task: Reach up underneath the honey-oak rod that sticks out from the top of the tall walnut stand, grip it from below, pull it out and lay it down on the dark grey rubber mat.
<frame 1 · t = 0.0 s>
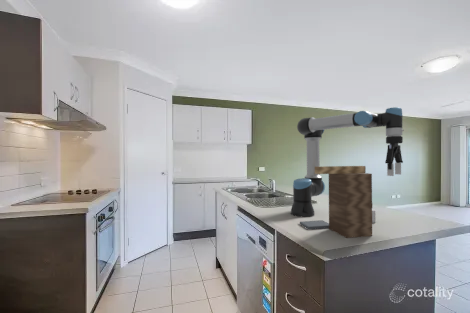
hand: (394, 175, 128), 28 cm above the table, tool pointing down, fingers open, 13 cm apart
mat: (315, 226, 129), on the table
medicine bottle: (366, 221, 138), on the table
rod: (340, 173, 117), point 30 cm above the table, touching stand
stand: (349, 232, 118), on the table
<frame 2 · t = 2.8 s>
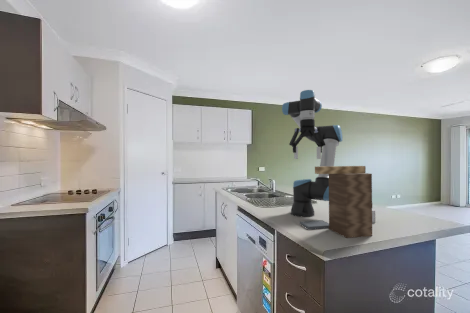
hand: (307, 158, 126), 37 cm above the table, tool pointing down, fingers open, 13 cm apart
nothing on the table moved.
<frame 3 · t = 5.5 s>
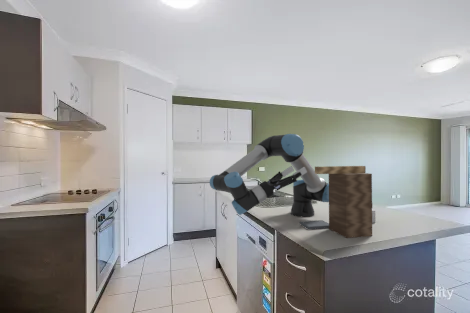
hand: (298, 168, 114), 33 cm above the table, tool pointing upward, fingers open, 13 cm apart
nothing on the table moved.
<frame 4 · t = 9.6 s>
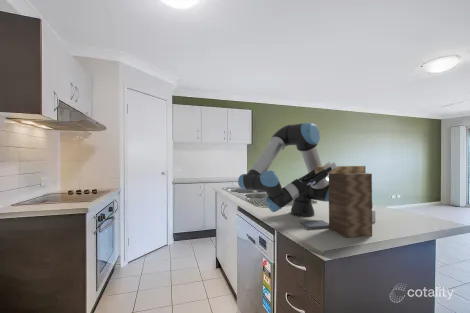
hand: (332, 164, 116), 34 cm above the table, tool pointing upward, fingers closed on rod, 3 cm apart
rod: (340, 173, 117), point 30 cm above the table, touching gripper, stand
everything else where it was.
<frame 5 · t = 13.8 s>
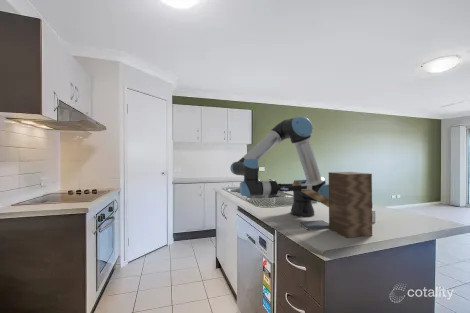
hand: (309, 186, 128), 22 cm above the table, tool horizontal, fingers closed on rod, 3 cm apart
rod: (312, 197, 129), point 16 cm above the table, tilted 30°, touching gripper
everything else where it was.
when the fingers open (8 cm above the table, at t = 16.8 s): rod drops 2 cm, resting on mat.
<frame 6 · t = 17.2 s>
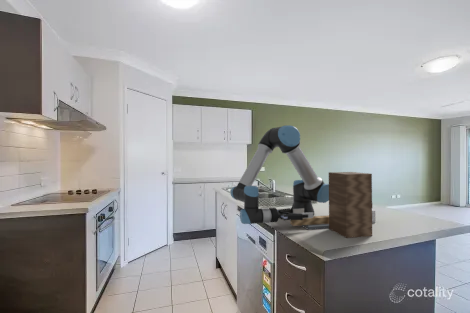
hand: (308, 212, 128), 8 cm above the table, tool horizontal, fingers open, 9 cm apart
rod: (313, 223, 129), point 1 cm above the table, touching mat
everything else where it was.
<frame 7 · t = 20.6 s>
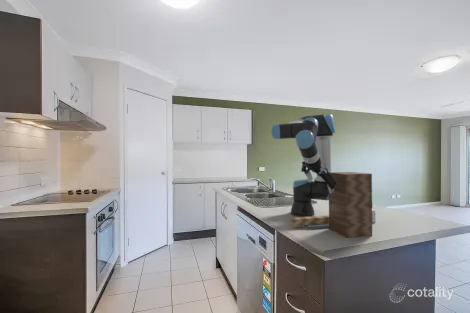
hand: (321, 185, 124), 23 cm above the table, tool tilted 45°, fingers open, 13 cm apart
nothing on the table moved.
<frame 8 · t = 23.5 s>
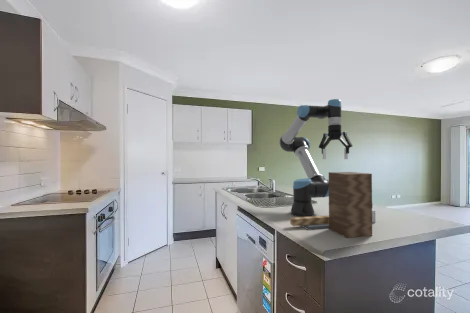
hand: (334, 159, 144), 37 cm above the table, tool pointing down, fingers open, 13 cm apart
nothing on the table moved.
at the end: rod inside the target area (1.2 cm from its centre), point 1.5 cm above the table; the gripper is holding nothing; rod moved 32.3 cm from its start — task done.
